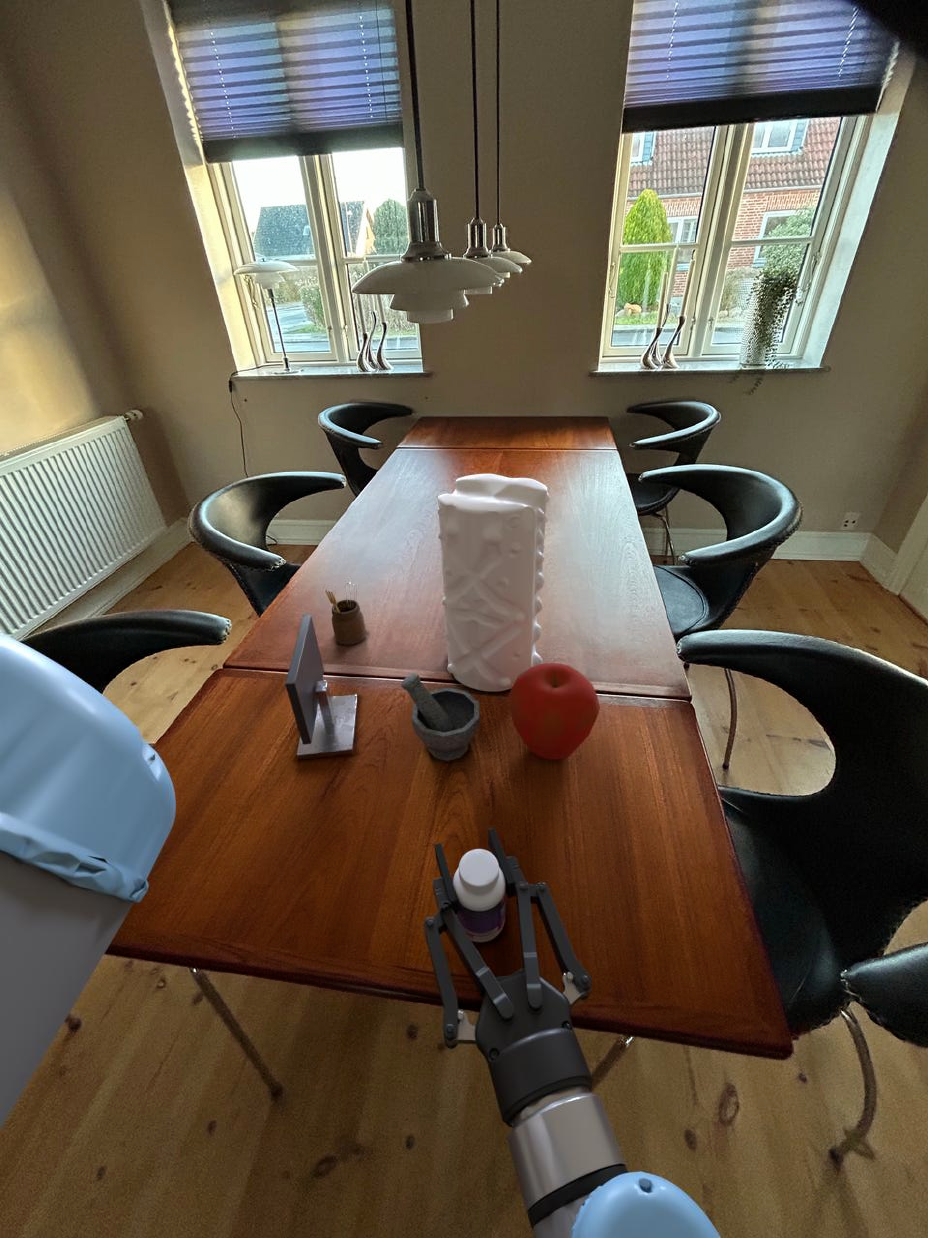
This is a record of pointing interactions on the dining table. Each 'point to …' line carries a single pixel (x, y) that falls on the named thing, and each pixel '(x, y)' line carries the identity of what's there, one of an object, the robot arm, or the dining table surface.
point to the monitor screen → (305, 679)
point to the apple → (553, 709)
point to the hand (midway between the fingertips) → (465, 843)
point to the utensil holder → (347, 620)
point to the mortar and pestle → (443, 718)
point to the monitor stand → (331, 725)
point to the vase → (492, 577)
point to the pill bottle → (480, 895)
